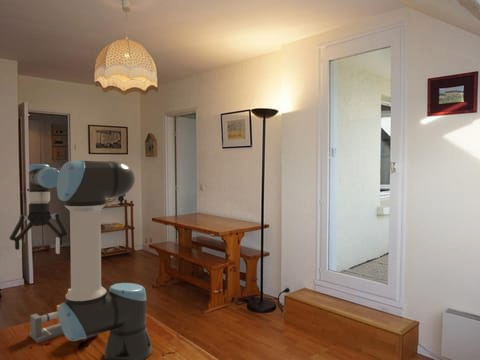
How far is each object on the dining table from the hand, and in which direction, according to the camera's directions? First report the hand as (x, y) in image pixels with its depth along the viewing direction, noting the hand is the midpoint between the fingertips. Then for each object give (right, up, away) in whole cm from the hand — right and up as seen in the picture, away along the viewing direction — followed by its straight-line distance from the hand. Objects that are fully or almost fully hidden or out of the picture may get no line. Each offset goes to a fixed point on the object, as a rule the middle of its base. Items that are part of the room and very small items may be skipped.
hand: (39, 255), depth 144 cm
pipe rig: (+11, -27, -7) cm, 30 cm away
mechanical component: (+25, -28, -12) cm, 39 cm away
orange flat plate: (+12, -23, -7) cm, 27 cm away
